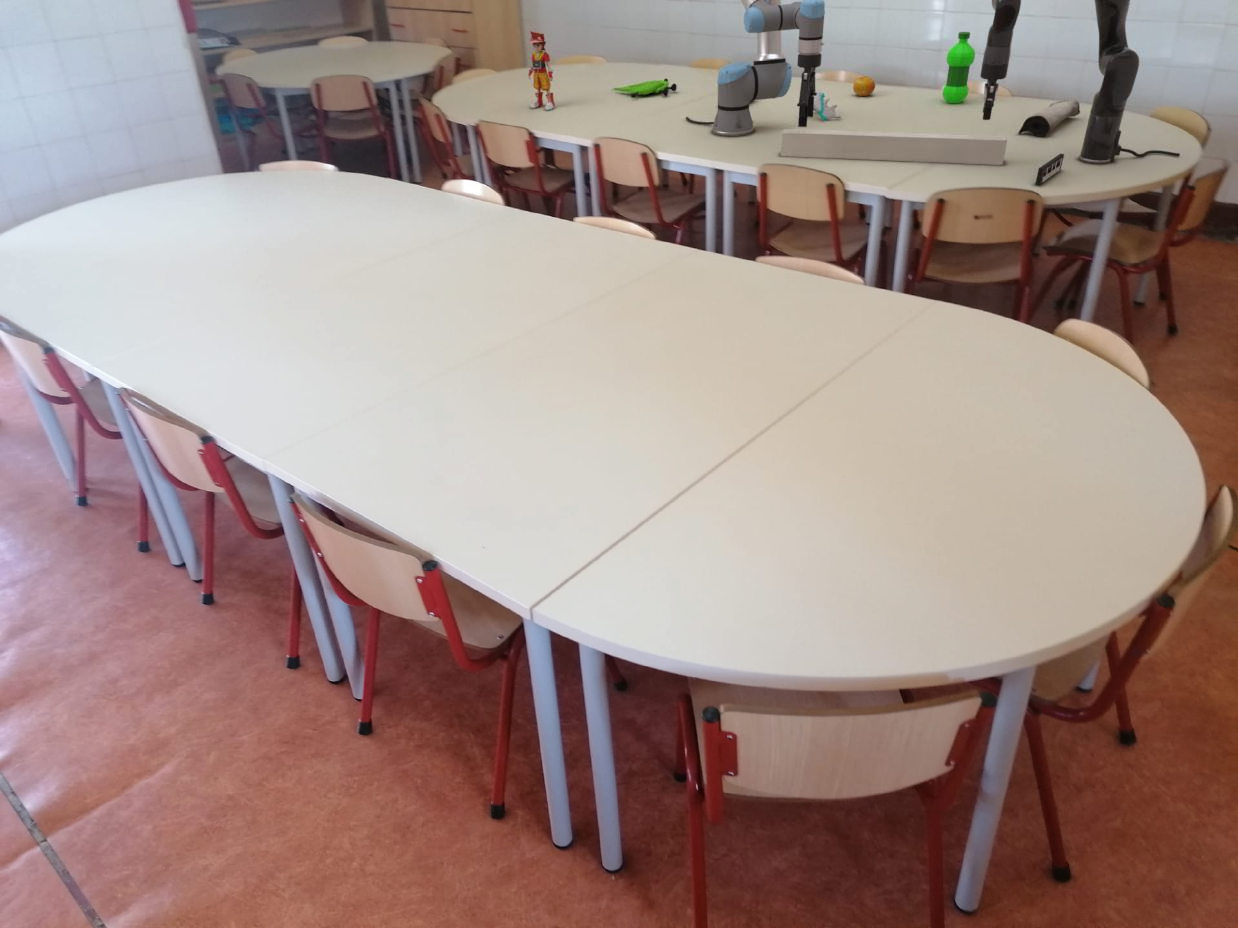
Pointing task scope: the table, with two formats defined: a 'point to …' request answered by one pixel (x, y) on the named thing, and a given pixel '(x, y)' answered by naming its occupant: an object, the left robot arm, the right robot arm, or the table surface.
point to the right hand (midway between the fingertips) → (986, 116)
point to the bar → (894, 146)
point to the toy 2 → (648, 88)
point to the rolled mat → (1050, 117)
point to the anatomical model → (824, 107)
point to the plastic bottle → (958, 69)
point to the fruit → (864, 86)
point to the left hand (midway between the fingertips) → (805, 121)
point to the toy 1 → (541, 71)
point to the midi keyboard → (1049, 169)
